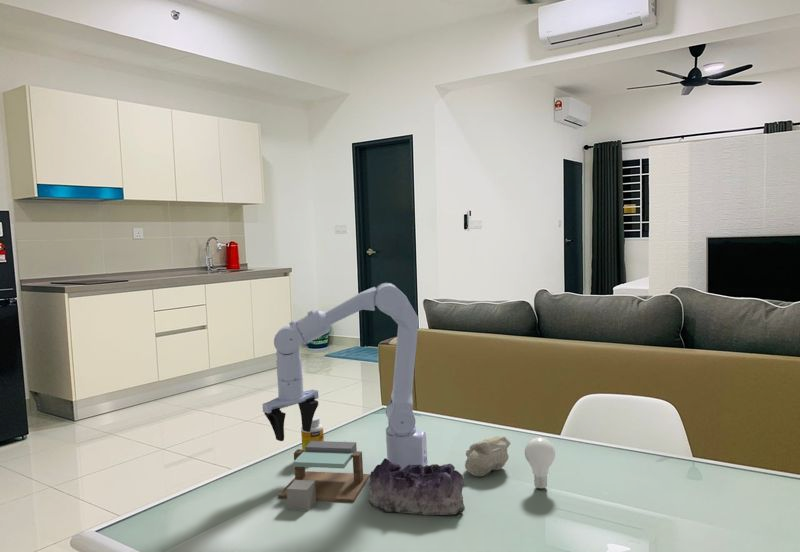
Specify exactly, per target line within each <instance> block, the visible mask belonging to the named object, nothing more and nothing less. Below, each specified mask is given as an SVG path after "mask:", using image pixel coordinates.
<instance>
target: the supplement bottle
mask: <svg viewBox="0 0 800 552" xmlns="http://www.w3.org/2000/svg"><path fill="white" fill-rule="evenodd" d="M300 430H301V431H300V432H301V449H304V452H306V450H305V447H306V446H307V445H308V444H309V443H310V442H311V441H325V438H324V437H325V436H324V425H323V424H322V423H321V418H320V416H318V415H314V416H313V420H312V424H311V430H310V432H306V431H303V428H302V426H301V428H300Z"/></svg>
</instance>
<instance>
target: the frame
mask: <svg viewBox="0 0 800 552" xmlns="http://www.w3.org/2000/svg"><path fill="white" fill-rule="evenodd" d="M303 452H304V449H302V448H301V449H300V448H298V449H296V450H295V451H294V452H293V462H294V461H295V460H296V459H297V458H298V457H299V456H300V455H301V454H302V453H303ZM363 465H364V464H363V451H358V450H357V451H355V453H354V454H353V457H352V466H353V467H352V470H353V472H352V473H351V472H348V473H347V472H332V471H331V472H329V471H327V472H326V471H306V467H296V466H293V467H294V477H293V479H291V481H290V482H289V483H288V484H287V485H286V486H285V488H283V490H281V492H280V493H279V494H278V497H277V498H278V499H287V488H288V487H289V486H290V485H291V484H292V483H293V482H294V480H311V481H315V489H316V501H326V502H343V503H354V502H355V501H356V500H357V498H358V496H359V495H360V493H361V492H362V490H363V488H364V487H365V485H366V483H367V482H368V480H370V474H371V473H364V468H363V467H364V466H363Z"/></svg>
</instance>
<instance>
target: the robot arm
mask: <svg viewBox="0 0 800 552" xmlns="http://www.w3.org/2000/svg"><path fill="white" fill-rule="evenodd" d="M375 306H376V307H377V309H378V310H379V311H380V312H382V313H384V314H386V315H387V316H390V317H391V319H392V320H393V321H394V322H395V323H396V325H397V333H396V345H395V346H396V347H395V358H394V367H393V368H394V371H393V382H392V390H391V394H390V395H391V396H390V401H389V402H388V404H387V405H386V408H385V415H386V418H387V420H388V421H387V424H388V426H387V427H385V439H386V440H385V442H386V459H387V460H389V461H390V462H391V463H398V464H399V465H400V466H401V468H402V469H404V468H405V467H406V466H408V465H411V466H412V465H420V464H421V465H422V466H427V464H428V462H429V460H428V451H427V449H428V448H427V447H428V445H427V444H428V443H427V435H426V434H427V433H426V431H422V430H418V429H417V427H416V417H415V414H414V411H413V406H414V403H413V402H414V401H413V390H414V389H413V388H414V387H413V386H414V377H415V365H416V355H417V354H416V353H417V344H418V343H417V342H418V333H419V332H418V330H419V316H418V315H417V312H416V311H415V309H414V307H413V306H412V304H411V303H410V301H409V299H408V297H407V296H406V294H404V293H403V292H402V291H401V290H400V289H399V288H398V287H397V286H396V285H395V284H393V283H391V282H384V283H380V284H378V285H377V286H372V287H370V288H368V289H366V290H363V291H361V292H359V293H357V294H355V295H354V296H352V297H350V298H348V299H346V300H345V301H343V302H341V303H339V304H337V305H336V306H334V307H332V308H331V309H329V310H327V311H322V310H318V309H317V310H315V311H314V310H312V309H311V310H310V311H307V312H306V313H307V315H306V316H304V317H302V318H300V319H298V320H295V321H294V320H291V321H289V323H288V324H289V325H285V326H283V327H281V328H280V329H279V330H278V331H277V333H276V334H275V336H274V339H273V345H274V348H275V349H276V353H275V355H276V360H275V361H276V376H277V390H278V394H277V395H278V397H275V398H273V399H272V400H270V401H267V402H264V403H262V412H263V413H264V416H265V417H266V418H267V420H268V421H269V423H270V425H271V428H272V430H273V433H274V436H275V439H276V440H277V441H279V442H283V441H284V440H285V419H286V413H285V412H283V411H282V409H284V408H287V407H291V406H294V405H297V404H298V408H299V413H300V417H301V427H302V428H303V431H306V432H310V430H311V424H312V420H313V416H315V413H316V411H317V409H318V407H319V400H317V399H319V397H320V396H319V390H317V389H309V390H304V383H303V381H304V379H303V367H302V366H303V365H302V364H303V363H302V357H301V348H300V346H301V345H307V344H309V343H310V342H312V341H315V340H316V339H318V338H320V337H321V336H324V335H326V334H328V333H329V332H330V330H331V327H332V325H333V324H335V323H337V322H339V321H342V320H343V319H346V318H347V317H349V316H351V315H354V314H356V313H358V312H360V311H363V310H365V311H375V310H376V308H375Z"/></svg>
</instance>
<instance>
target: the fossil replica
mask: <svg viewBox="0 0 800 552" xmlns="http://www.w3.org/2000/svg"><path fill="white" fill-rule="evenodd" d="M510 445H511V441H510V440H509V439H508V438H507V437H506V436H505V435H504V436H503V435H502V436H494V437H491V438H485V439H483V440H481V441H479V442H476V443H475V442H474V443H472V444H471V445H470V446H469V449H467V450H466V451H465V456H466V457H467V458H466V460H465V463H464V467H465V470H466V471H467V472H468V473H470V474H471V475H473V476H475V477H478V478H479V477H485V476H486V475H487V474H488V473H490V472H491V471H499V470H501V469H502V468H503V467H504V466H505V465H506V463H507V462H508V461H509V454H508V448H509V446H510Z"/></svg>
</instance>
